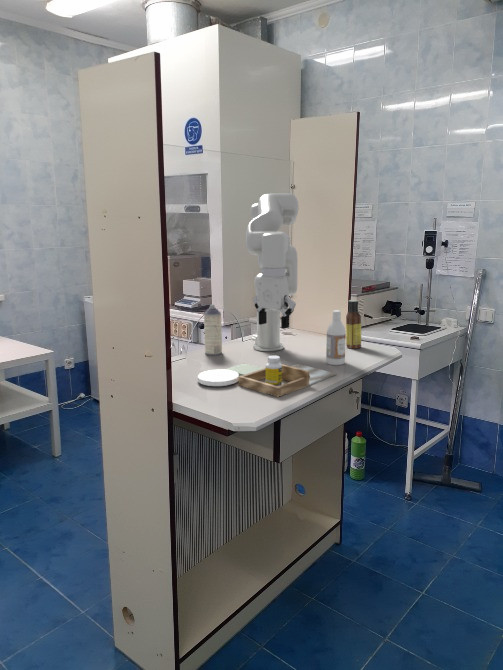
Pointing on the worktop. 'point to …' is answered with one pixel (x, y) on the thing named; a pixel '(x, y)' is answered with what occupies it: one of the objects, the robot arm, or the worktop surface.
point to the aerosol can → (213, 331)
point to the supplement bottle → (274, 371)
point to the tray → (244, 369)
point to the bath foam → (336, 341)
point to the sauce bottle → (353, 326)
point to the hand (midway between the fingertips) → (273, 326)
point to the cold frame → (294, 374)
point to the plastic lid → (218, 377)
